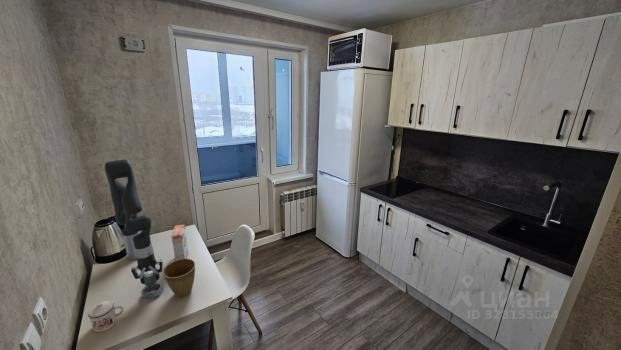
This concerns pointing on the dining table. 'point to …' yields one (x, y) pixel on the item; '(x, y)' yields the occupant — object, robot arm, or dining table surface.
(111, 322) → the teacup with lid
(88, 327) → the dining table surface
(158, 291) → the faceted grey ring
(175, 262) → the plant pot
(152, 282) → the cap
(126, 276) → the dining table surface
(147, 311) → the dining table surface
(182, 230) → the cracker box
